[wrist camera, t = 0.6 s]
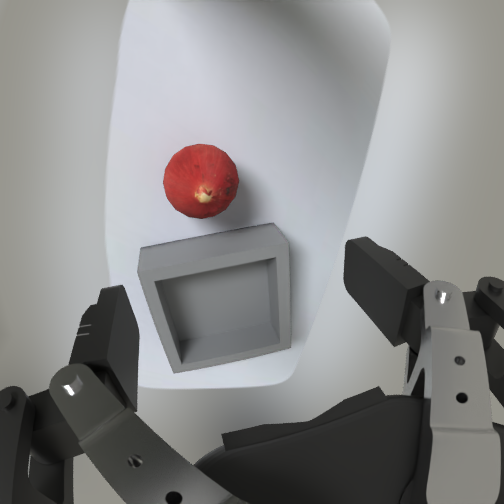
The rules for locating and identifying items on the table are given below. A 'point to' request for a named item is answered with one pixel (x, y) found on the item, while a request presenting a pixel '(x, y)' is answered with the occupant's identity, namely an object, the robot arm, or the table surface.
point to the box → (219, 296)
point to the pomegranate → (200, 181)
